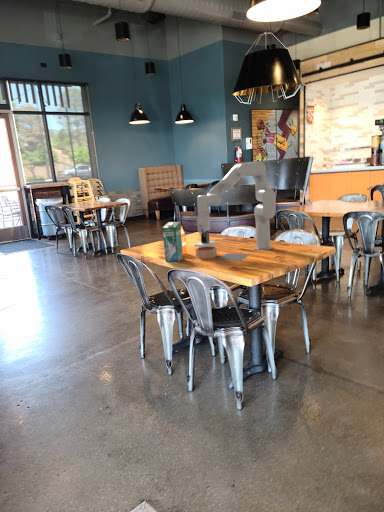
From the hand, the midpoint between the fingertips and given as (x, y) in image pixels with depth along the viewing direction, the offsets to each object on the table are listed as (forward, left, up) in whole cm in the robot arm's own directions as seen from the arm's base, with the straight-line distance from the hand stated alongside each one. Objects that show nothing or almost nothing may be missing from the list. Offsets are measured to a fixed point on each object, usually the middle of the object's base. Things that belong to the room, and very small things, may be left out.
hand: (205, 241), depth 256 cm
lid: (0, 0, -2) cm, 2 cm away
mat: (-2, +19, -11) cm, 22 cm away
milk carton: (+12, -18, -11) cm, 24 cm away
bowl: (0, 0, -11) cm, 11 cm away
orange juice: (-5, -25, -11) cm, 28 cm away
